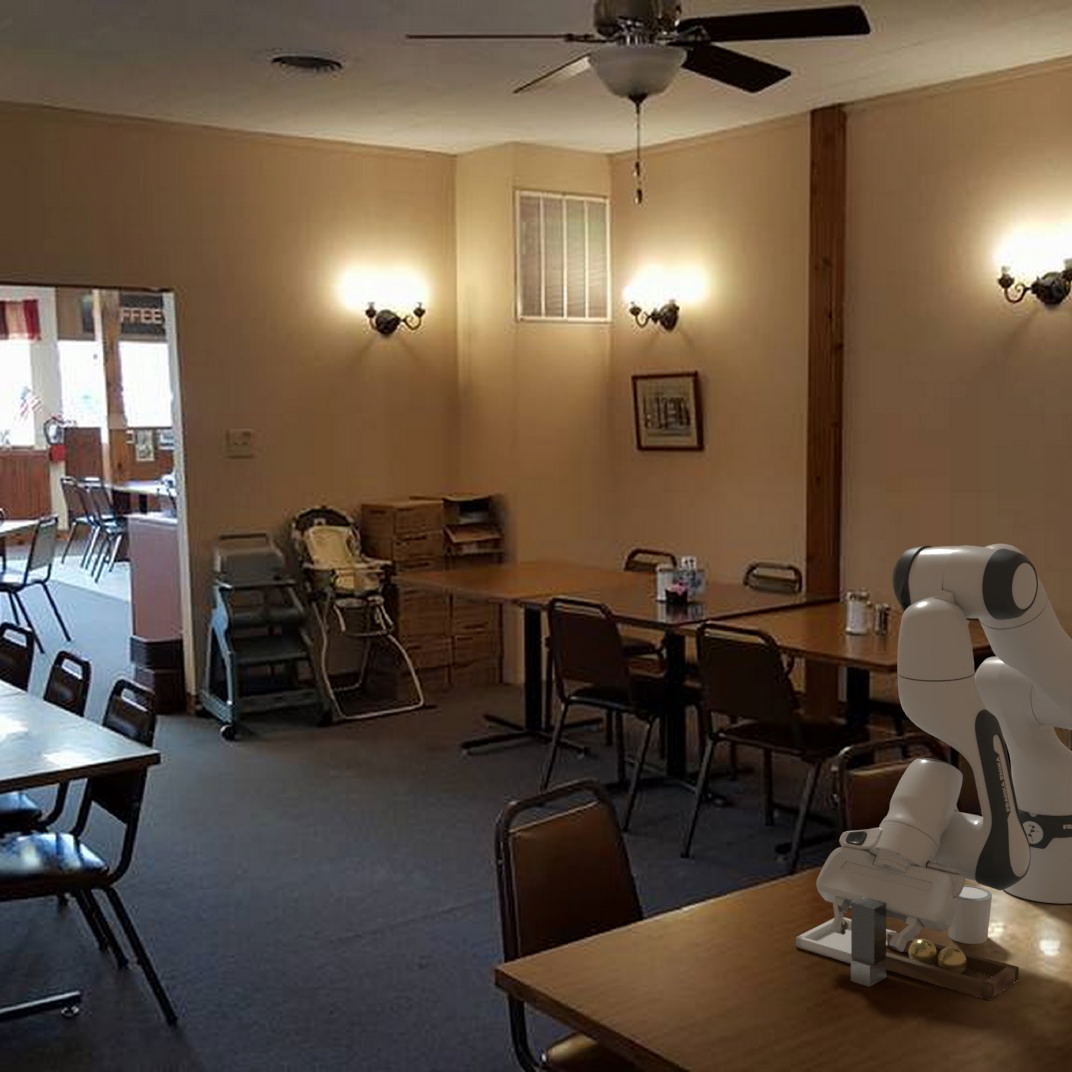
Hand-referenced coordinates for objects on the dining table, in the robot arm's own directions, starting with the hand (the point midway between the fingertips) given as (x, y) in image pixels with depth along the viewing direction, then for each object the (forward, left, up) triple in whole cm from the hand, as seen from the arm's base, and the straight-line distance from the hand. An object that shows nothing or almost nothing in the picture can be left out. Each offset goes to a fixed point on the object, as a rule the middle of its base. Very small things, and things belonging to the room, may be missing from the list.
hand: (865, 940), depth 184 cm
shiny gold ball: (-10, +3, -6) cm, 12 cm away
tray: (-10, -9, -6) cm, 14 cm away
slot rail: (-10, +6, -6) cm, 13 cm away
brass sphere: (-10, +8, -6) cm, 14 cm away
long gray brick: (-1, 0, -6) cm, 6 cm away
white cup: (-25, +3, -6) cm, 26 cm away
